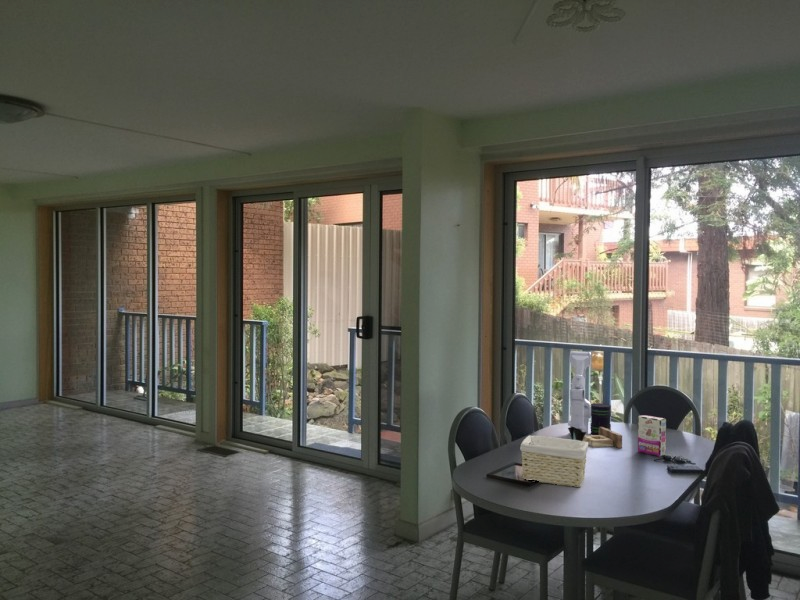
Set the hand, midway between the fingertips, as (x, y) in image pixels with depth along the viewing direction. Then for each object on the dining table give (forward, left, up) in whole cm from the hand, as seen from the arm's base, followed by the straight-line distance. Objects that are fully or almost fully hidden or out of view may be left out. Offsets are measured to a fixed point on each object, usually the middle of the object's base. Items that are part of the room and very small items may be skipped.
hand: (576, 444), depth 289 cm
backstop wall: (-8, +21, -2) cm, 23 cm away
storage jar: (-26, +26, -3) cm, 37 cm away
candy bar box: (+12, +30, -3) cm, 32 cm away
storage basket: (+41, -30, -3) cm, 50 cm away
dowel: (0, 0, -2) cm, 2 cm away
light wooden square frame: (-8, +15, -2) cm, 17 cm away
